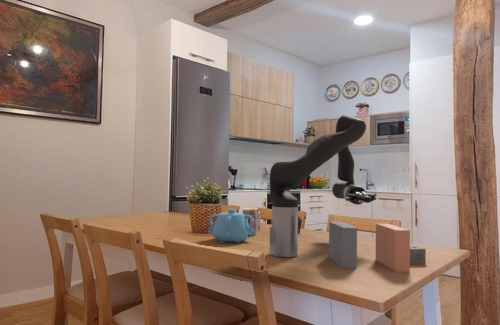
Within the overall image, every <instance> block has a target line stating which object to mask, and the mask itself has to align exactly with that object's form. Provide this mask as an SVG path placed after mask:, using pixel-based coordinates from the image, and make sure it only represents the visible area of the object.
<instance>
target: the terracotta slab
mask: <svg viewBox="0 0 500 325" xmlns="http://www.w3.org/2000/svg"><path fill="white" fill-rule="evenodd" d="M410 246H411V230H410V229H406V228H405V227H404V228H403V227H401V226H397V225H393V224H390V223H375V261H376V262H378V263H380V264H381V265H383V266H385V267H386V268H388V269H390V270H391V271H393V272H396V273H397V272H398V273H399V272H401V273H405V272H406V273H408V272H410V270H411V267H410V265H411V264H410Z"/></svg>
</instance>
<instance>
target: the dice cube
mask: <svg viewBox="0 0 500 325" xmlns="http://www.w3.org/2000/svg"><path fill="white" fill-rule="evenodd" d="M426 250H427V248H424V247H421V246H417V245H410V265H426V262H427V261H426V258H427V257H426V255H427V254H426Z"/></svg>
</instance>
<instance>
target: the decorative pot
mask: <svg viewBox="0 0 500 325" xmlns="http://www.w3.org/2000/svg"><path fill="white" fill-rule="evenodd" d="M227 211H228V212H219V213H218V214H217V213H214V214H211V215H210V217H209V219H208V220H209V224H210V227H209V228H208V234H210V235H212V237H213V238H214V239H215V240H216V241H219V243H226V242H233V243H235V244H240V243H241V242H242V241H246V240H247V238H248V237H250V236H251V235H254V230H253V229H251V228H252V226H253V222H254V220H253V218H252V217H251V216H250V215H244V214H243V212H242V213H241V212H236V208H228V209H227ZM214 217H216V219H215V221H214V224H213V218H214ZM246 217H249V218H250V219H251V224H250V227H249V226H248V222H247V220H246ZM250 231H252V233H250ZM248 235H250V236H248ZM251 237H252V236H251Z"/></svg>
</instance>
